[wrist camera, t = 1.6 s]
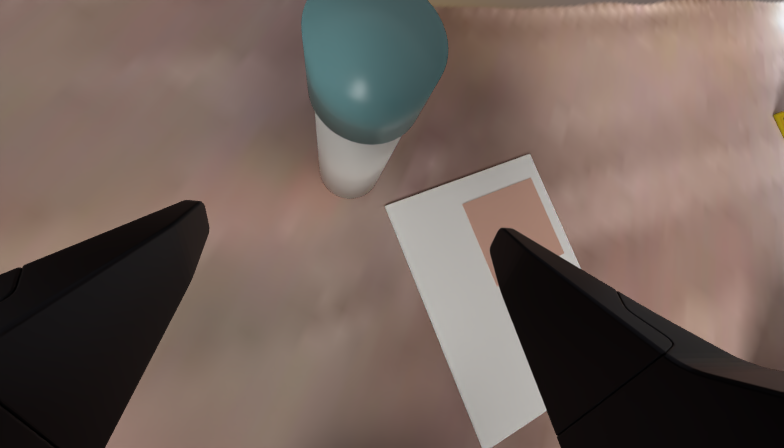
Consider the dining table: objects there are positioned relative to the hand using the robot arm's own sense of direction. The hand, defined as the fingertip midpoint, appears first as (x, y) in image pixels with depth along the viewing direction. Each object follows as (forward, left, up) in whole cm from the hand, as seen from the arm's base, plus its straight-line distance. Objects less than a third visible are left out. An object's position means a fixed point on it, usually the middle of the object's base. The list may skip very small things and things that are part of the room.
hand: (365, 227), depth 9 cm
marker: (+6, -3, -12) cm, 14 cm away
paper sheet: (-7, -11, -12) cm, 18 cm away
